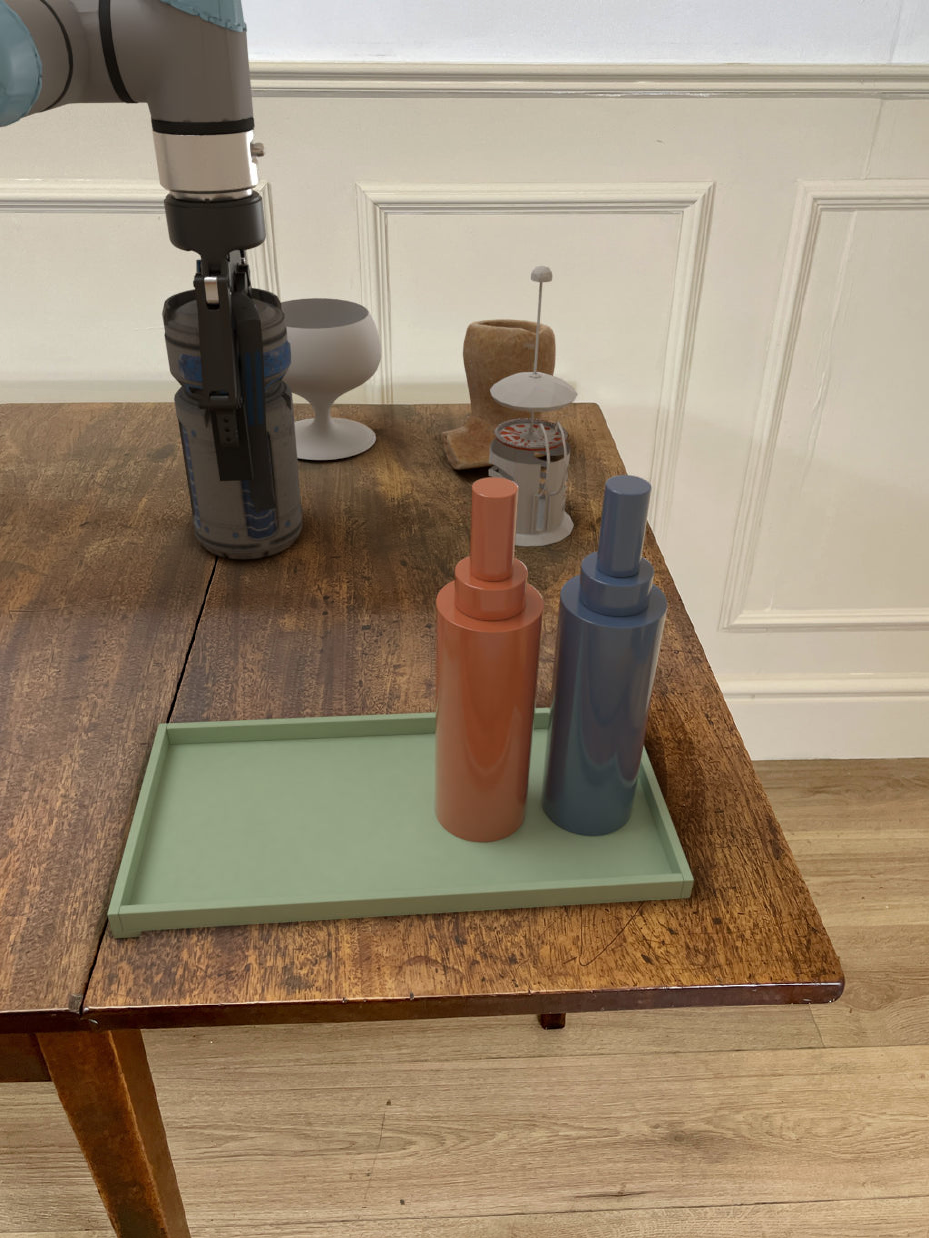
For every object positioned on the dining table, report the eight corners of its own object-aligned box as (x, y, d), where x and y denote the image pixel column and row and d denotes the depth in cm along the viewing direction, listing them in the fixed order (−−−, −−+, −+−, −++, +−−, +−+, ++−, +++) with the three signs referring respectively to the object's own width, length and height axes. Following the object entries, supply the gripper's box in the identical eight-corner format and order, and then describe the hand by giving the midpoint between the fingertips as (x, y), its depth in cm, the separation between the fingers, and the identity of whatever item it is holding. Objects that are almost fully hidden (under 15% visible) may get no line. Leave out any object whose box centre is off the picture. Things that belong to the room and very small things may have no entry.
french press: (551, 495, 100) (572, 250, 86) (597, 547, 91) (628, 282, 77) (464, 506, 98) (470, 255, 84) (501, 561, 89) (515, 289, 75)
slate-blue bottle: (548, 839, 59) (583, 512, 46) (534, 772, 64) (561, 461, 51) (642, 834, 60) (702, 509, 47) (620, 768, 65) (669, 459, 52)
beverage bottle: (220, 588, 84) (180, 302, 70) (183, 524, 93) (140, 261, 79) (328, 563, 88) (310, 287, 74) (281, 504, 97) (257, 250, 83)
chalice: (271, 472, 103) (257, 336, 95) (257, 424, 115) (244, 298, 106) (395, 460, 107) (393, 327, 99) (370, 414, 118) (366, 292, 110)
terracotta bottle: (437, 845, 58) (441, 515, 46) (431, 777, 63) (433, 463, 51) (533, 839, 59) (563, 512, 46) (519, 773, 64) (543, 461, 51)
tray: (113, 938, 53) (106, 914, 52) (163, 746, 66) (158, 723, 65) (688, 903, 56) (694, 880, 55) (625, 726, 69) (628, 703, 68)
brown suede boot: (529, 425, 116) (537, 301, 108) (579, 462, 108) (592, 331, 99) (416, 443, 111) (415, 315, 103) (459, 484, 102) (462, 347, 94)
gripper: (245, 224, 63) (277, 508, 75) (273, 165, 84) (294, 395, 95) (130, 225, 62) (180, 511, 74) (187, 165, 83) (219, 396, 95)
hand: (245, 446), depth 85 cm, fingers open, 13 cm apart
